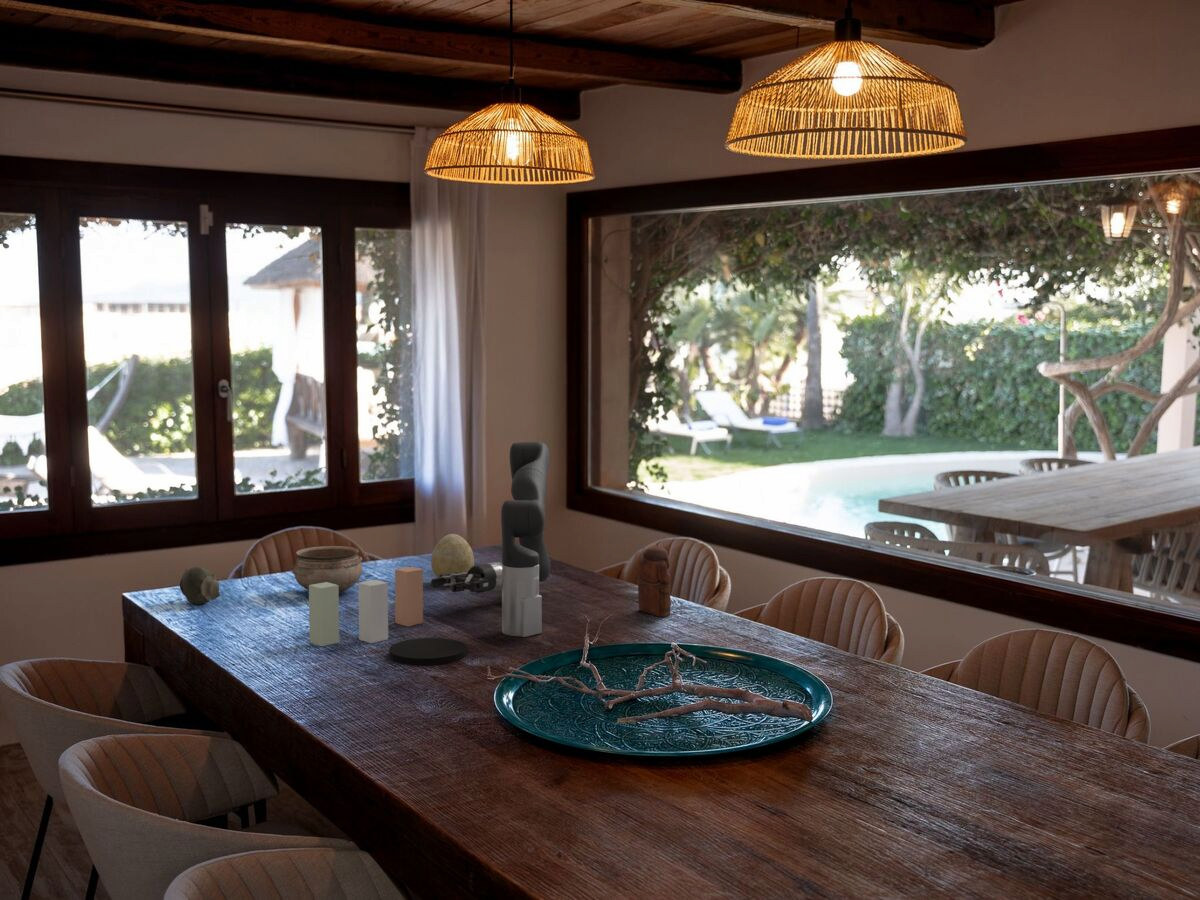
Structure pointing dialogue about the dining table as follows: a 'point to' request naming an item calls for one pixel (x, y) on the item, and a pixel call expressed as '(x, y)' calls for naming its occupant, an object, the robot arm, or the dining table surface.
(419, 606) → the terracotta block
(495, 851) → the dining table surface
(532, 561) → the robot arm
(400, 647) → the wireless charger
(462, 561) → the fossilized egg
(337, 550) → the cooking pot
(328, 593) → the sage block
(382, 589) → the light grey block
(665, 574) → the wooden figurine
